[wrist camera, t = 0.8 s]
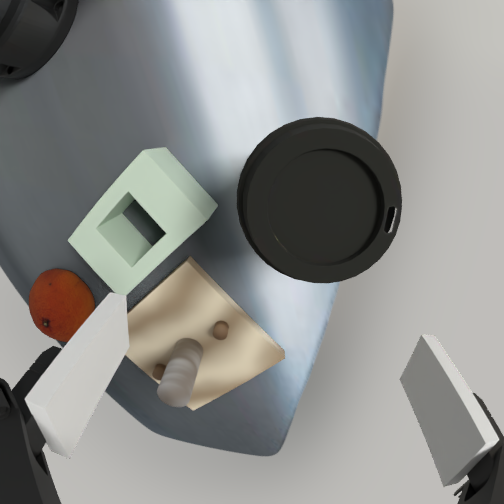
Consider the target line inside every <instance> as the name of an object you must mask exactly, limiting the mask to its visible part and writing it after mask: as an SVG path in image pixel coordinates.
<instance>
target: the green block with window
mask: <svg viewBox="0 0 504 504" xmlns="http://www.w3.org/2000/svg"><path fill="white" fill-rule="evenodd" d="M135 199H136V200H137V202H138V203H139V204H140V205H141V206H142V207H143V208H144V209H145V210H146V212H147V213H148V214H149V215H150V216H151V217H152V218H153V219H154V220H155V221H156V223H157V224H158V225H159V226H160V227H161V228H162V229H163V230H164V231H165V232H166V234H165V235H164V236H163V237H162V238H161V239H160V240H159V241H158V242H157V243H156V244H155V245H154V246H152V245H151V244H150V243H149V242H148V241H147V240H146V239H145V238H144V237H143V235H142V234H141V233H140V232H139V231H138V230H137V229H136V228H135V227H134V226H133V225H132V223H131V222H130V221H129V220H128V219H127V218H126V217H125V216H124V215H123V212H124V210H125V209H126V208H127V207H128V206H129V205H130V204H131V203H132V202H133V201H134V200H135ZM217 206H218V204H217V203H216V202H215V201H214V200H213V199H212V198H211V197H210V195H209V194H208V193H207V192H206V191H205V190H204V189H203V188H202V187H201V186H200V184H199V183H198V182H197V181H196V180H195V179H194V178H193V177H192V176H191V175H190V173H189V172H188V171H187V170H186V169H185V168H184V167H183V166H182V165H181V164H180V162H179V161H178V160H177V159H176V158H175V157H174V156H173V155H172V154H171V153H170V151H169V150H168V149H167V148H166V147H164V148H155V149H147V150H143V151H142V152H141V153H140V154H139V155H138V156H137V158H136V159H135V160H134V161H133V162H132V163H131V164H130V165H129V166H128V167H127V168H126V170H125V171H124V172H123V173H122V174H121V175H120V176H119V177H118V179H117V180H116V181H115V182H114V183H113V184H112V186H111V187H110V188H109V189H108V190H107V191H106V193H105V194H104V195H103V196H102V197H101V199H100V200H99V201H98V202H97V203H96V205H95V206H94V207H93V208H92V210H91V211H90V212H89V213H88V215H87V216H86V217H85V219H84V220H83V221H82V222H81V224H80V225H79V226H78V228H77V229H76V230H75V232H74V233H73V234H72V236H71V237H70V238H69V240H68V241H69V243H70V244H71V245H72V246H73V247H74V248H75V250H76V251H77V252H78V253H79V254H80V255H81V256H82V257H83V259H84V260H85V261H86V262H87V263H88V264H89V265H90V266H91V268H92V269H93V270H94V271H95V272H96V273H97V274H98V275H99V276H100V277H101V278H102V279H103V281H104V282H105V283H106V284H107V285H108V286H109V287H110V288H111V289H112V290H113V291H114V292H115V293H116V294H121V295H127V294H128V293H129V292H130V291H131V290H132V289H133V288H134V287H136V286H137V285H138V284H139V283H140V282H141V281H142V280H143V279H144V278H145V277H146V276H147V275H148V274H149V273H150V272H151V271H152V270H153V269H155V268H156V267H157V266H158V265H159V264H160V263H161V262H162V261H163V260H164V259H165V258H166V257H167V256H169V255H170V254H171V253H172V252H173V251H174V250H175V249H176V248H177V247H178V246H179V245H180V244H182V243H183V242H184V241H185V240H186V239H187V238H188V237H189V236H190V235H192V234H193V233H194V232H195V231H196V230H197V229H198V228H199V227H200V226H202V225H203V224H204V223H205V222H206V221H207V220H208V219H209V218H210V216H211V215H212V213H213V212H214V211H215V209H216V208H217Z"/></svg>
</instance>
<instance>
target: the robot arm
mask: <svg viewBox="0 0 504 504" xmlns="http://www.w3.org/2000/svg"><path fill="white" fill-rule="evenodd" d="M77 3H78V0H0V77H1V78H9V79H19V78H23V77H26V76H28V75H30V74H32V73H34V72H35V71H36V70H38V69H39V68H40V67H42V66H43V65H44V64H45V63H46V62H47V61H48V60H49V59H50V58H51V57H52V56H53V54H54V53H55V52H56V51H57V49H58V48H59V46H60V45H61V44H62V42H63V40H64V39H65V37H66V35H67V33H68V31H69V29H70V27H71V25H72V23H73V20H74V17H75V14H76V9H77ZM129 347H130V345H129V334H128V320H127V303H126V295H121V294H116V293H111V292H110V293H109V294H108V295H107V296H106V298H105V299H104V300H103V301H102V302H101V303H100V305H99V306H98V307H97V308H96V309H95V310H94V312H93V313H92V314H91V315H90V316H89V317H88V319H87V320H86V321H85V322H84V323H83V325H82V326H81V327H80V328H79V329H78V331H77V332H76V333H75V334H74V335H73V337H72V338H71V339H70V340H69V342H68V343H67V344H66V345H65V347H64V348H63V349H61V348H58V347H55V346H52V347H51V348H49V349H47V350H46V351H44V352H42V354H41V355H40V356H39V357H38V359H37V360H36V361H35V363H33V365H32V366H31V367H30V370H28V371H27V372H26V373H25V374H24V376H23V377H22V378H21V379H20V381H19V382H18V383H17V384H16V386H15V387H14V388H13V389H12V391H11V389H10V387H9V385H8V383H7V382H6V381H5V380H4V379H1V378H0V504H61V502H60V499H59V497H58V494H57V491H56V489H55V486H54V483H53V480H52V477H51V474H50V471H49V468H48V465H47V462H46V458H45V455H44V452H43V451H42V448H43V446H44V444H45V443H47V444H48V446H49V448H50V449H51V451H53V452H55V453H57V454H59V455H62V456H64V457H66V458H69V459H70V457H71V455H72V453H73V451H74V449H75V447H76V445H77V443H78V441H79V439H80V437H81V435H82V434H83V432H84V430H85V428H86V425H87V424H88V422H89V420H90V418H91V416H92V414H93V412H94V410H95V408H96V406H97V405H98V403H99V401H100V399H101V397H102V395H103V394H104V392H105V390H106V388H107V386H108V384H109V383H110V381H111V379H112V377H113V375H114V373H115V372H116V370H117V368H118V366H119V364H120V363H121V361H122V359H123V357H124V356H125V354H126V352H127V350H128V349H129ZM400 381H401V383H402V385H403V388H404V390H405V392H406V394H407V397H408V399H409V401H410V403H411V405H412V408H413V410H414V413H415V415H416V417H417V420H418V422H419V424H420V427H421V429H422V432H423V434H424V436H425V439H426V442H427V444H428V447H429V449H430V452H431V454H432V457H433V459H434V462H435V465H436V467H437V470H438V473H439V475H440V478H441V481H442V483H443V486H444V487H445V486H448V485H452V484H456V483H458V482H459V481H460V480H461V479H463V478H464V477H465V476H466V475H468V478H469V480H468V481H467V482H466V483H465V484H463V486H461V487H460V488H459V489H458V490H457V491H456V492H455V493H454V496H456V495H457V494H458V493H459V492H460V491H462V493H461V495H460V496H459V498H460V499H459V501H458V504H504V436H503V435H502V433H501V431H500V429H499V427H498V426H497V424H496V423H495V421H494V419H493V418H492V417H491V414H490V412H489V411H488V410H487V407H486V405H485V404H484V402H483V401H482V399H480V398H479V397H478V396H477V395H476V394H475V393H472V392H471V390H470V388H469V387H468V385H467V384H466V382H465V381H464V379H463V377H462V376H461V374H460V373H459V371H458V370H457V368H456V367H455V366H454V364H453V362H452V361H451V359H450V358H449V356H448V355H447V353H446V352H445V350H444V349H443V347H442V346H441V344H440V343H439V341H438V340H437V339H436V338H435V336H434V335H421V337H420V339H419V341H418V343H417V346H416V348H415V350H414V352H413V354H412V356H411V358H410V360H409V362H408V364H407V366H406V368H405V370H404V372H403V374H402V376H401V378H400Z"/></svg>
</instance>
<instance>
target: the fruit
mask: <svg viewBox="0 0 504 504" xmlns="http://www.w3.org/2000/svg"><path fill="white" fill-rule="evenodd" d="M29 309H30V314H31V316H32V319H33V321H34V323H35V325H36V327H37V328H38V329H40V331H41V332H43V333H44V334H45V335H47V336H49V337H51V338H53V339H56V340H59V341H63V342H67V341H69V340H70V339H71V338H72V337H73V335H74V334H75V333H76V332H77V331H78V329H79V328H80V327H81V326H82V325H83V323H84V322H85V321H86V320H87V319H88V317H89V316H90V315H91V314H92V313H93V312H94V310H95V302H94V297H93V295H92V293H91V291H90V289H89V288H88V286H87V285H86V284H85V283H84V282H83V281H82V280H81V279H80V278H79V277H78V276H77V275H76V274H74V273H73V272H71V271H68V270H63V269H52V270H47V271H45V272H43V273H41V274H40V276H39V277H38V278H37V279H36V281H35V283H34V285H33V287H32V289H31V291H30V295H29Z"/></svg>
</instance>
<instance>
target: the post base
mask: <svg viewBox="0 0 504 504" xmlns="http://www.w3.org/2000/svg"><path fill="white" fill-rule="evenodd" d="M127 320H128V334H129V345H130V347H129V349H128V350H127V352H126V354H125V355H126V356H127V357H128V358H129V359H130V360H131V361H133V362H134V363H135V364H136V365H137V366H138V367H139V368H141V369H142V370H143V371H144V372H145V373H146V374H148V375H149V376H150V377H151V378H152V379H154V380H155V381H156V382H157V383H158V384H159V387H158V389H157V395H158V397H159V398H160V399H161V401H163V402H164V403H166V404H168V405H170V406H173V407H183V406H188V407H189V408H190V409H192V410H195V409H197V408H199V407H201V406H203V405H205V404H206V403H208V402H210V401H212V400H214V399H216V398H218V397H220V396H221V395H223V394H225V393H227V392H229V391H230V390H232V389H234V388H236V387H238V386H239V385H241V384H243V383H245V382H246V381H248V380H250V379H251V378H253V377H255V376H257V375H258V374H260V373H262V372H263V371H265V370H267V369H268V368H270V367H272V366H273V365H275V364H276V363H278V362H280V361H281V360H283V359H285V352H284V350H283V349H282V348H281V347H280V346H279V345H278V344H277V343H276V342H275V341H274V340H273V339H272V338H271V337H270V336H269V335H268V334H267V333H266V332H265V331H264V330H263V329H262V328H261V327H260V326H259V325H258V324H257V323H256V322H255V321H253V320H252V319H251V318H250V317H249V316H248V315H247V314H246V313H245V312H244V311H243V310H242V309H241V308H240V307H239V306H238V305H237V304H236V303H235V302H234V301H233V300H232V298H231V297H230V296H229V295H228V294H227V293H226V292H225V291H224V290H223V289H222V288H221V287H220V286H219V285H218V284H217V283H216V282H215V281H214V280H213V279H212V278H211V277H210V276H209V275H208V274H207V273H206V272H205V271H204V270H203V269H202V268H201V267H200V266H199V265H198V264H197V262H196V261H195V260H194V259H193V258H192V257H191V256H189V257H188V258H187V259H186V260H185V261H184V262H183V263H181V264H180V265H179V266H178V267H177V268H176V269H175V270H174V271H172V272H171V273H170V274H169V275H168V276H167V277H166V278H165V279H163V280H162V281H161V282H160V283H159V284H158V285H157V286H156V287H155V288H153V289H152V290H151V291H150V292H149V293H148V294H147V295H146V296H145V297H144V298H142V299H141V300H140V301H139V302H138V303H137V304H136V305H135V306H134V307H133V308H132V309H130V310H129V311H128V312H127Z"/></svg>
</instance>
